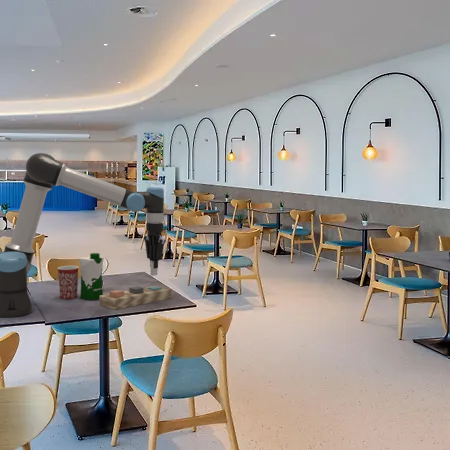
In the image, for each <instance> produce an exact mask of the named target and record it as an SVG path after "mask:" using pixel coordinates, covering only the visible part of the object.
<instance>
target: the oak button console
mask: <svg viewBox="0 0 450 450" xmlns="http://www.w3.org/2000/svg"><path fill="white" fill-rule="evenodd" d="M152 286H153V285H152ZM152 286H146V287H143V288H144V293H139V294H132V293H129V290H123V291H124V296H123V297H118V298H114V297H111V296H110V293H106V294H103V295H100V296H99V297H100V298H99V305H100V306H101V307H105V308H108V309H111V310H114V311H115V310H121V309H125V308H130V307H134V306H140V305H145V304H149V303H155V302H159V301H163V300H169V298H170V299H172V289H170V288H167V287H164V286H159V285H157V286H158V287H162V289H161V290H155V291H153V290H149V289H148V287H152Z"/></svg>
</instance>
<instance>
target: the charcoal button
mask: <svg viewBox="0 0 450 450" xmlns="http://www.w3.org/2000/svg"><path fill="white" fill-rule="evenodd" d="M144 288H145V287H141V286H138V285H137V286H133V287H128V289H129V293H132V294H139V293H144Z"/></svg>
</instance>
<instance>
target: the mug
mask: <svg viewBox="0 0 450 450" xmlns="http://www.w3.org/2000/svg"><path fill="white" fill-rule="evenodd" d="M56 269H57V272H58V274H57V275H58V284H59V285H58V286H59V297H60V299H62V300H72V299H75V298H77V297H78V286H79V285H78V284H79V283H78V282H79V281H78V280H79V269H80V267H79V266H77V265H63V266H62V265H61V266H58V267H57V268H56Z"/></svg>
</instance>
